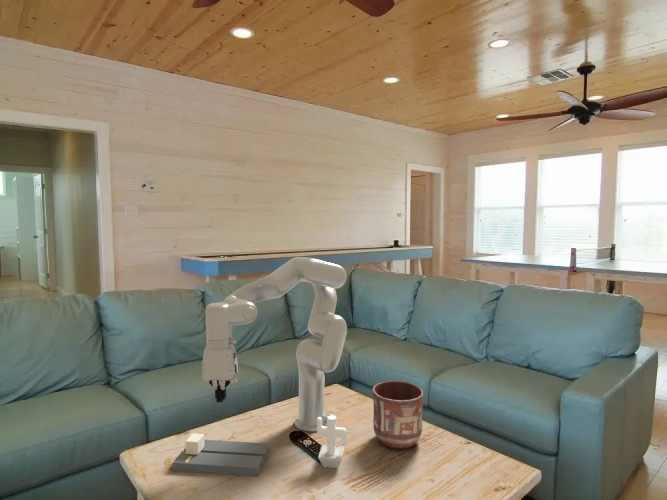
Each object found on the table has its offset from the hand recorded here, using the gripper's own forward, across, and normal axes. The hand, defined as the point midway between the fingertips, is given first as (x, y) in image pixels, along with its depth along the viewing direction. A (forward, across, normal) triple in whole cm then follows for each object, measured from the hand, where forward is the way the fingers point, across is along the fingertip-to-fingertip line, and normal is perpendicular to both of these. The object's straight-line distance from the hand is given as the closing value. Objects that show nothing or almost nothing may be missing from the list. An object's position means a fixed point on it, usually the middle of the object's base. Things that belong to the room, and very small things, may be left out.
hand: (220, 400), depth 130 cm
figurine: (+20, -34, -1) cm, 40 cm away
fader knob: (+17, +9, +1) cm, 19 cm away
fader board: (+19, 0, +1) cm, 19 cm away
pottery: (+20, -55, -17) cm, 62 cm away
